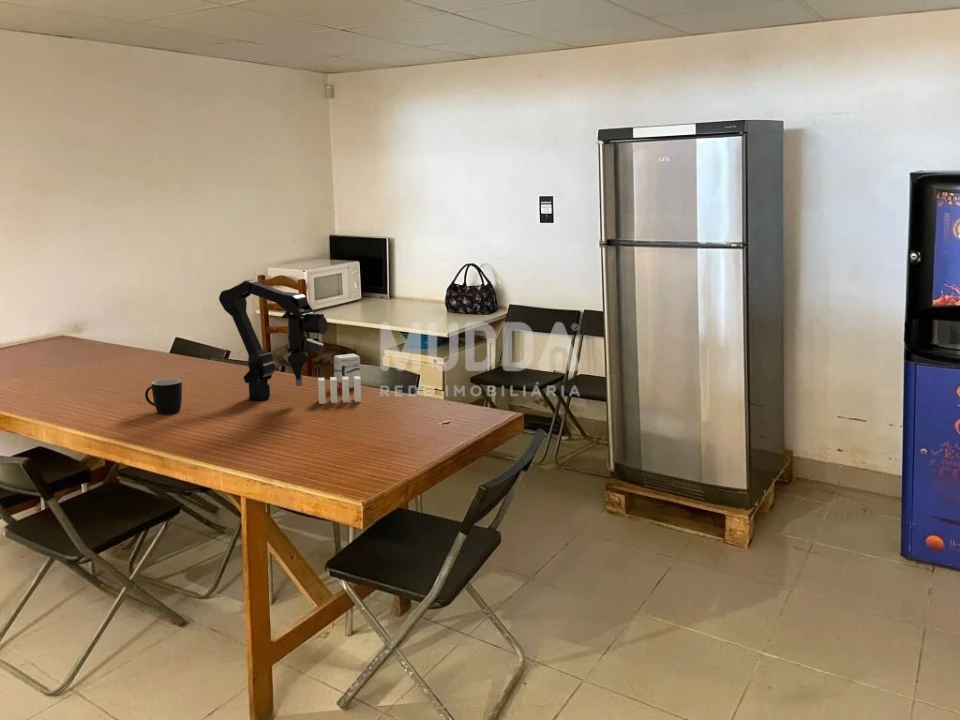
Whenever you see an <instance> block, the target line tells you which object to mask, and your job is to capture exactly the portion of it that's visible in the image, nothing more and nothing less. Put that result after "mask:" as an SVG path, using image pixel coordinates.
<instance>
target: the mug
mask: <svg viewBox="0 0 960 720" xmlns="http://www.w3.org/2000/svg"><path fill="white" fill-rule="evenodd" d="M150 390H151V392H152V396H153V397H152V398H153V401H152V400H151V399H150V397H149V391H150ZM144 396H145V400H146V401H147V402H146V403H149V404H150V405H151V406H153V407H155V410H156V412H157V413H158V414H159V415H162V416H164V415H165V416H168V415H169V416H170V415H176V414H179V412H180V411H181V408H182V403H183V402H182V398H183V382H182V379H179V378H161V379H156V380H153V381H152V382H151V386H149V387H148V388H146V390H145V393H144Z"/></svg>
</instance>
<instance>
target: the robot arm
mask: <svg viewBox="0 0 960 720" xmlns="http://www.w3.org/2000/svg"><path fill="white" fill-rule="evenodd" d="M251 295H254V296H256V297H260V298H262V299H264V300H267V301H270V302H273V303H275V304H276V305H278V306H279V307H280V308H281V309H282V310H285V313H284V314H283V315H281V319H286V320H287V340H288V341H287V342H288V345H287V353H288V354H287V362H288V364H289V365H290V368H291V370H292V372H293V374H294V376H295V380H296V379H297V380H300V377H301V372H303V371H302V370H303V366H304V364H305V363H307V362H308V361H309V359H308V351H311V352H314V353H316V354H319V355H321V354H322V352H323V349H324V343H323V342H321V341H320V338H319V337H317V336H315V337H312V338H308V334H312V335H313V334H314V335H324V334H326V333H327V332H328V331H327V330H328V328H329V323H328V322H327V321H328V320H327V318H326V317H325V314H324V313H323V312H320V313H319V312H318V313H316V312H315V311H314V309H313V308H312V307H311V305H310V304H309V302H308V299H307V296H306V295H304V294H303V293H299V292H291V291H283V290H281V289H278V288H274V287H272V286H269V285H266V284H264V283H262V282H258V281H256V280H255V279H249V280H248V279H247V280H243V281H242V282H241V283H239V284H238V285H235V286H233V287H232V288H231V287H230V288H229V289H223V290H222V291H221V292H220V293H219V296H218V300H219V304H220V305H221V307H222V308H223V310H224V311H225V312H226V313H228V315H230V316H231V318H232V319H233V322H234V324H235V326H236V329H237V332H238V333H239V336H240V338H241V340H242V343H243V345H244V347H245V351H246V352H247V355H248V361H247V365H248V366H247V367H248V371H247V373H245V374H244V376H243V380H244V383H245V384H248V392H249V393H248V401H267V400H268V401H269V398H271V385H270V383H269V380H271V379H272V376H273V374H274V373H275V370H276V365H275V364H276V361H275V360H274V359H273V355H272V353H271V352H268V353H267V352H266V351H264V350H263V347H262V345H261V343H260V341H259V339H258V336H257V334H256V332H255V329H254V327H253V324H252V322H251V320H250V317H249V315H248V313H247V304H248V303H247V298H249V297H250V296H251Z"/></svg>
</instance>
